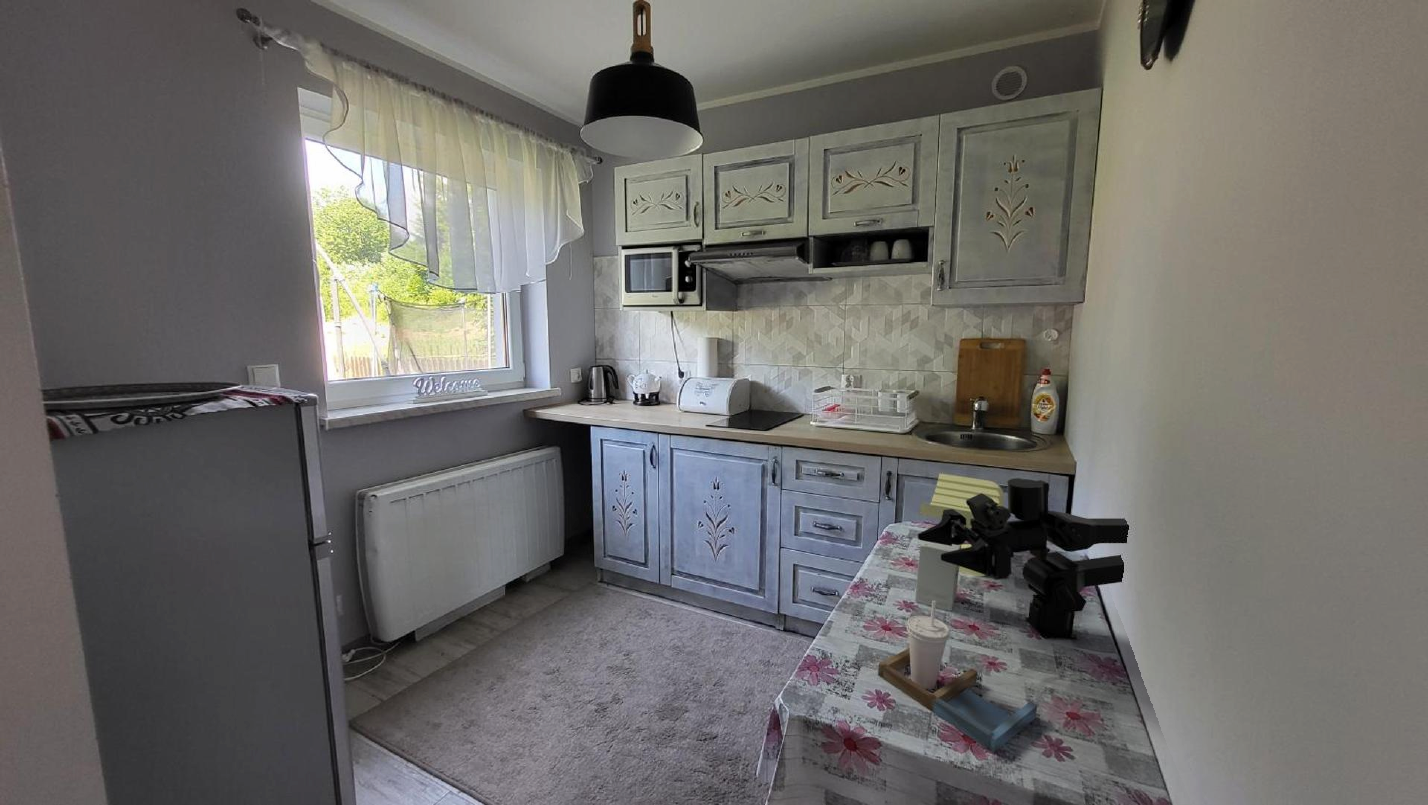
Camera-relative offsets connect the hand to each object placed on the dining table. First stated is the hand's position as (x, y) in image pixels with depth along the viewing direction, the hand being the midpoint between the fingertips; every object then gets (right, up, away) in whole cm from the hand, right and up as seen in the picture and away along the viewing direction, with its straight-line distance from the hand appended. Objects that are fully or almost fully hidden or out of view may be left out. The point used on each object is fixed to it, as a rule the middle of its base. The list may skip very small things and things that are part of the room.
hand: (929, 546), depth 97 cm
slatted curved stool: (+21, -13, +33) cm, 42 cm away
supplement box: (+7, -15, +14) cm, 22 cm away
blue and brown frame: (-3, -19, -16) cm, 25 cm away
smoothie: (-6, -19, -12) cm, 23 cm away
